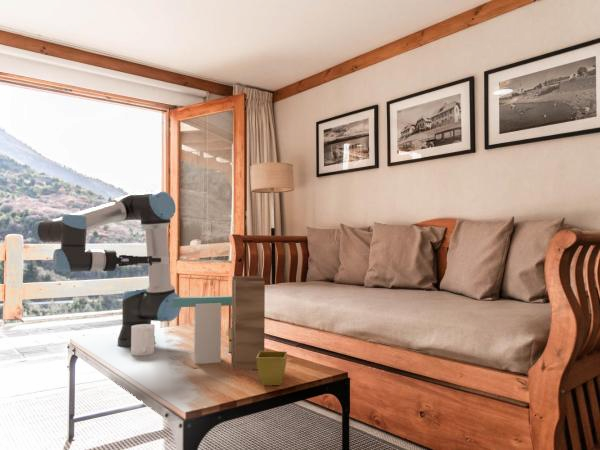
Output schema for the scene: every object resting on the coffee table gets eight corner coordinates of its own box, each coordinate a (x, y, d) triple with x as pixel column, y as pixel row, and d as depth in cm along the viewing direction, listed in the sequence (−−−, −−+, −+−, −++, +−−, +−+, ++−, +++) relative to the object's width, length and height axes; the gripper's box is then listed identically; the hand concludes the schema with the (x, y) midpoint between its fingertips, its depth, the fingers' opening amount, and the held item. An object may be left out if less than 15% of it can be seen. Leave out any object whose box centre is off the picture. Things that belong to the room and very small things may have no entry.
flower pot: (259, 379, 148) (259, 350, 148) (286, 379, 148) (287, 351, 148) (255, 388, 139) (256, 357, 140) (285, 388, 139) (285, 357, 139)
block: (172, 306, 171) (172, 297, 171) (240, 304, 177) (240, 295, 177) (172, 307, 168) (172, 298, 168) (241, 305, 174) (241, 296, 174)
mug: (134, 359, 174) (135, 330, 174) (129, 352, 184) (129, 325, 184) (158, 356, 178) (158, 328, 178) (151, 350, 188) (151, 323, 189)
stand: (231, 363, 167) (232, 276, 168) (258, 361, 170) (259, 275, 171) (235, 371, 157) (235, 278, 159) (264, 369, 160) (264, 277, 161)
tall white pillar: (194, 358, 174) (194, 301, 175) (218, 357, 177) (218, 300, 178) (195, 364, 167) (195, 304, 167) (220, 362, 169) (221, 303, 170)
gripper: (93, 271, 174) (149, 270, 186) (113, 270, 154) (174, 270, 167) (94, 251, 174) (150, 252, 187) (113, 248, 155) (174, 249, 168)
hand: (161, 260), depth 177 cm, fingers open, 13 cm apart
